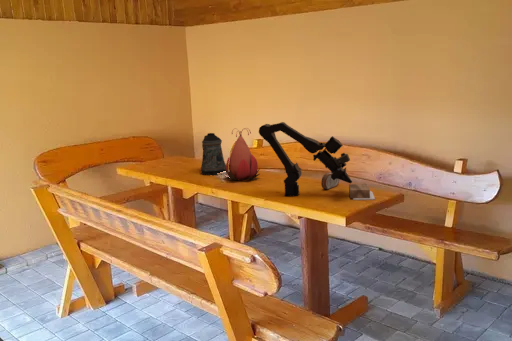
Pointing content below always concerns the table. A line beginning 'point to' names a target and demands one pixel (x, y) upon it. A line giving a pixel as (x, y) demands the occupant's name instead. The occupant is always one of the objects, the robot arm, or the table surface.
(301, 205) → the table surface
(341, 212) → the table surface
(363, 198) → the mat
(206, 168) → the beer stein
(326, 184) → the tin
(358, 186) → the walnut board
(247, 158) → the decorative flower
